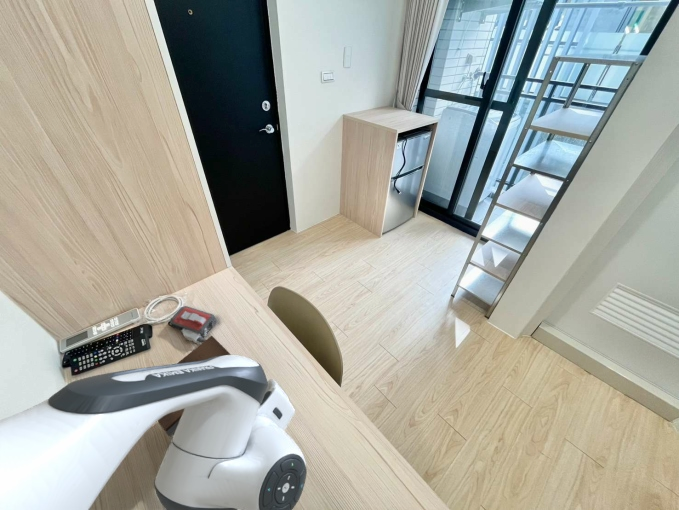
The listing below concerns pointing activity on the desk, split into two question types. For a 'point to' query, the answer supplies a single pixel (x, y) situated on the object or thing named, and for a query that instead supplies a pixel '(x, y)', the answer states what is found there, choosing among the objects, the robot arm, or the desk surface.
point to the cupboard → (198, 354)
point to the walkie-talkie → (193, 323)
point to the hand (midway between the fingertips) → (231, 417)
